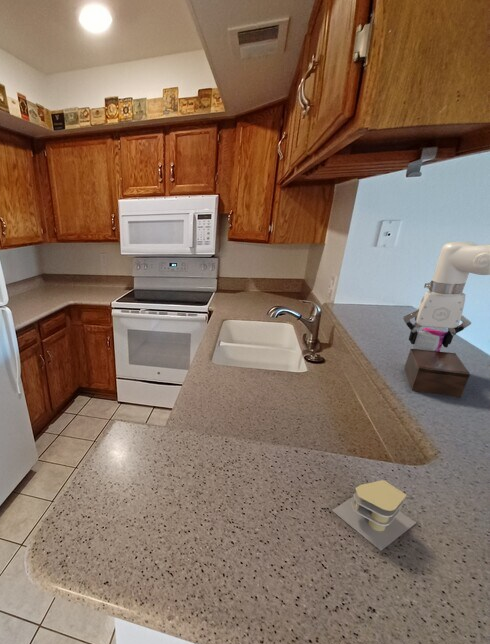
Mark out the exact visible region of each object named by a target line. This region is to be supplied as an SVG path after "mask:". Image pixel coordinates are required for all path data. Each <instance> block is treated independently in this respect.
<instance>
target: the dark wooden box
mask: <svg viewBox="0 0 490 644" xmlns="http://www.w3.org/2000/svg"><path fill="white" fill-rule="evenodd" d="M403 370H404V374H405V377H406V378H407V381H408V384H409V387H410V389H411V391H414V392H421V393H428V394H434V395H441V396H448V397H456V398H461V397H462V395H463V393H464V391H465V388H466V386H467V383H468V381H469V378H470V376H471V373H470V371H469V370H468V369H467V367H466V366H465V365H464V363H463V362H462V360H461V359H460V357H459V356H458V355H457V353H456V352H445V351H440V352H438V351H428V350H419V349H412V348H410V349H409V353H408V355H407V359H406V361H405V366H404V369H403Z"/></svg>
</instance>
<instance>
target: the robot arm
mask: <svg viewBox="0 0 490 644" xmlns="http://www.w3.org/2000/svg"><path fill="white" fill-rule="evenodd" d="M470 274H474V275H477V276H478V275H479V276H490V243H488V244H481V245H479V244H478V245H477V243H474V242H470V241H469V242H468V241H452V242H447V243H445V244H444V245H443V246H442V248H441V250H440V254H439V257H438V260H437V264H436V267H435V270H434V273H433V276H432V279H431V280H430V282H426V283H424V287H423V288H424V289H428V290H426V291H425V293H424V295H423V296H422V298H421V301H420V302H419V305H418V307H417V310H415V311H413V312H410V313H409V314H406V315H404V316H403V317H402V319H403V321H404V323H405V324H406V326H407V328H409V330H410V333H409V336H408V341H409V342H410V344H411V345H414V344H415V341H416V338H417V334H418V331H419V330H420V328H422V327H425V328H437V329H447V331H445V332H446V335H445V338H444V341H443V344H442V346H443V347H444V348H448V347H449V345H451V344H452V341H453V338H454V336H456V335H457V334H458V333H460V332H461V331H463V330H465V329H466V328H468V327H469V326H470V325H472V322H471V320H469V319H468V318H467V317H465V315H463V311H464V307H465V302H466V294H465V293H464V292H463V291H464V288H465V287H466V283H467V281H468V277H469V275H470ZM411 319H414V321H415V322H414V323H413V322H412V321H411Z"/></svg>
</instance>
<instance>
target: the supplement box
mask: <svg viewBox="0 0 490 644" xmlns="http://www.w3.org/2000/svg"><path fill="white" fill-rule="evenodd" d="M417 332H418V334H417V338H416V341H415V344H412V345H413V346H412V348H411V349H419V350H428V351H438V352H441V349H442V346H443V341H444V338H445V335H446V332H447V331H442V330H438V329H434V328H433V329H432V328H430V327H425V328H423V329H421V330H417Z"/></svg>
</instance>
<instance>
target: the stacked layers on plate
mask: <svg viewBox="0 0 490 644" xmlns="http://www.w3.org/2000/svg"><path fill="white" fill-rule="evenodd" d="M406 497H407V494H406V493H405V492H404V491H402V490H400V489H398V488H397V487H395V486H394V485H392V484H391V483H389V482H387V481H386V480H384V479H381V480H377V481H376V480H375V481H372V482H367V483H363V484H359V485H358V486H357V487H356V486H355V492H353V496H351V497H350V498H349V499H347V500H345V501H344V502H342V503H341V504H338V505H337V506H336V507H334V508H333V509H331V511H332V513H334V514H335V515H336V516H338V517H339V518H340V519H341V520H342V521H343V522H345V523H346V524H347V525H349V526H350V527H351V528H352V529H353V530H355V531H356V532H357V533H359V534H360V535H361V536H362V537H364V539H366V540H367V542H369V543H371V544H372V545H373V546H375V548H377V549H378V550H379V551H383V550H385V548H387V547H388V546H389V545H390V544H392V543H393V542H394V541H396V540H397V539H398V538H400V537H401V536H402V535H403V534H404V533H406V532H407V531H408V530H410V529H411V528H412V527H414V526H415V525H416V524H417V521H415V520H413V518H411V517H409V516H408V515H406V514H404V513H403V512H402V511H401V510H402V508H401V507H402V505H403V504H404V503H405V498H406Z"/></svg>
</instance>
